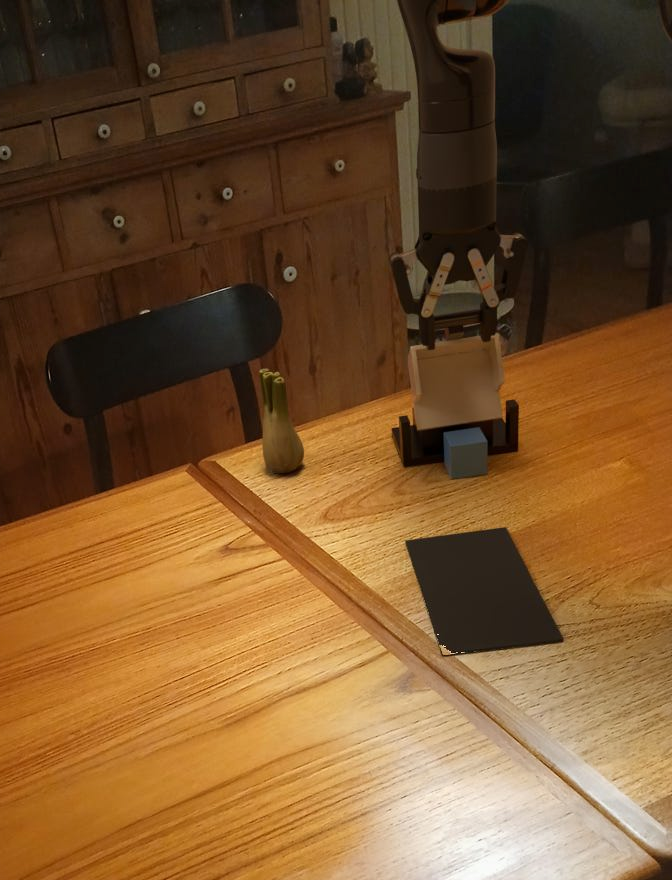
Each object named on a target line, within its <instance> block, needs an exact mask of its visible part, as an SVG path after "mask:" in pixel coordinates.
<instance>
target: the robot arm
mask: <svg viewBox="0 0 672 880" xmlns="http://www.w3.org/2000/svg"><path fill="white" fill-rule="evenodd" d="M510 1H511V0H396V2H397V3H396V4H397V6H398V9H399V13H400V16H401V19H402V23H403V25H404V28H405V31H406V36H407V38H408V42H409V46H410V50H411V54H412V59H413V65H414V69H415V78H416V87H417V89H416V90H417V108H418V109H417V111H418V112H417V113H418V117H417V118H418V140H417V149H416V150H417V151H416V169H415V176H416V177H415V178H416V181H417V209H418V210H417V211H418V238H417V241H416V243H415V245H414V248H412V249H410V250H409V249H408V250H407V251H404V252H401V253H399V252H396V251H395V252H394V251H393V252H392V253H391V254H389V256H388V263H389V265H390V269H391V273H392V277H393V281H394V284H395V288H396V292H397V297H398V299H399V303H400V306H401V307H402V310H403V312H404V313H405V314H407V315H412V314H413V315H416V316H418V338H419V340H420V342H421V345H423V346H426V347H427V349H428V351H429V350H435V343H436V331H435V319H434V315H435V314H434V311H435V308H436V304H437V302H438V299H439V298H440V296H441V295H442V292H443V289H444V287H445V286H446V285H452V284H454V283H457V282H460V281H461V282H472V281H475V283H476V287H477V288H478V290H479V293H480V295H481V297H482V302H480V303H479V309H480V313H481V322H480V324H479V336H480V337H481V339H482V341H483V342H490V341H491V336H493V335H495V334H496V333H497V331H498V306H499V305H500V303H502V302H503V301H505V300H506V299H508V300H509V299H510V300H511V299H513V298H515V297H516V295H517V294H518V288H519V284H520V280H521V275H522V273H523V272H522V271H523V268H524V263H525V259H526V254H527V250H528V246H529V241H528V240H527V238H526V237H525V236H523V234H521V233H520V232H514V233H512V234H500V232H499V230H498V228H497V178H498V177H497V176H498V174H497V173H498V172H497V171H498V143H497V142H498V141H497V133H496V122H495V117H496V64H495V63H496V62H495V60H494V58H493V56H492V54H491V53H489V52H488V51H485V50H481V49H470V48H469V49H467V48H453V47H449V46H447V45H445V44H443V42H442V40H441V39H440V35H439V32H438V31H439V30H438V27H440V26H444V25H451V24H455V23H461V22H466V21H473V20H477V19H482V18H487V17H489V16H493V15H495V14H496V13H498V12H499V11H500V10H502V9H504V8H505V7H506V5H507V4H508V3H509V2H510ZM656 3H657V9H658V15H659V18H660V22H661V25H662V28H663V30H664V33H665V35H666V37H667V38H668V40H669V41H670V43H671V44H672V0H656ZM500 247H501V254H502V256H503V257H504V258H505V259H504V262H503V263H504V264H503V268H502V273H501V277H500V281H499V284H497V285H496V286H494V283H493V280H492V279H491V276H490V274H489V271H488V268H487V266H488V264H489V263H490V262H491V259H492V258H493V257H494V255H495V254H496V252H497V251H498V249H499V248H500ZM417 260H418V261H419V263H420V264H421V265H422V266H423V267H424V269H425V270H426V271H427V272H426V275H425V278H424V281H423V285H422V290H421V293H420V296H419V298H415V297H413V292H412V288H411V284H410V280H409V275H411V274H412V273H413V270H414V264H415V262H416V261H417Z"/></svg>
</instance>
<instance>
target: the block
mask: <svg viewBox="0 0 672 880" xmlns="http://www.w3.org/2000/svg"><path fill="white" fill-rule="evenodd" d="M443 465H444V467H445V469H446V471H447V473H448V475H449V478H450V479H451V480H457V479H462V478H470V477H471V478H472V477H476V476H478V477H479V476H484V475H488V455H487V440H486V438H485V436H484V434H483V433H482V431H481V429H480V427H478V428H471V429H464V430H457V431H450V432H444V461H443Z"/></svg>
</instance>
